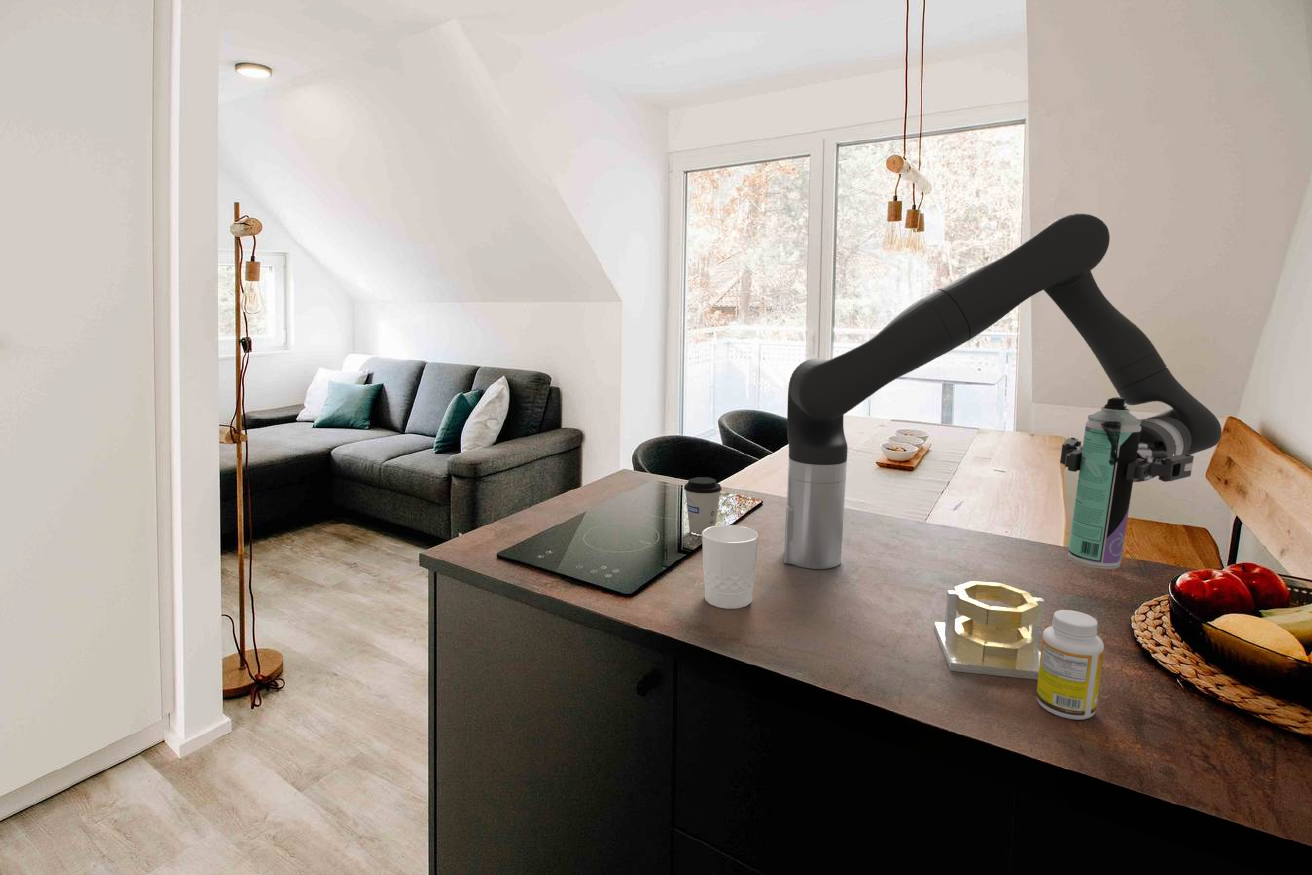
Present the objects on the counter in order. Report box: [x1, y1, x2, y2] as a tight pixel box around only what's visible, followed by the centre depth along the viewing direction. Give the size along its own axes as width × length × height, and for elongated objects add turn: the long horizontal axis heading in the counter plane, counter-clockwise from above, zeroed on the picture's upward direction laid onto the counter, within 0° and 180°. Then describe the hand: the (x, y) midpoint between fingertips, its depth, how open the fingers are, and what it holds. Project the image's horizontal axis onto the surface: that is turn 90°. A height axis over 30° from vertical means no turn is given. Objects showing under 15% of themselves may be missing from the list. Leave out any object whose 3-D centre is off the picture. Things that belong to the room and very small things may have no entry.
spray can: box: [1067, 396, 1141, 570], centre depth 84 cm, size 6×6×20 cm
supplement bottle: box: [1035, 609, 1105, 721], centre depth 74 cm, size 6×6×10 cm
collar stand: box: [933, 580, 1045, 681], centre depth 86 cm, size 11×11×8 cm
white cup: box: [701, 524, 759, 610], centre depth 101 cm, size 8×8×10 cm
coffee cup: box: [683, 476, 722, 534], centre depth 131 cm, size 7×7×10 cm
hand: (1100, 467), depth 82 cm, fingers closed on spray can, 5 cm apart
